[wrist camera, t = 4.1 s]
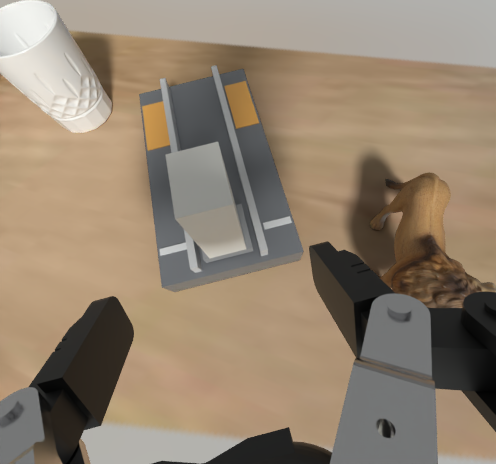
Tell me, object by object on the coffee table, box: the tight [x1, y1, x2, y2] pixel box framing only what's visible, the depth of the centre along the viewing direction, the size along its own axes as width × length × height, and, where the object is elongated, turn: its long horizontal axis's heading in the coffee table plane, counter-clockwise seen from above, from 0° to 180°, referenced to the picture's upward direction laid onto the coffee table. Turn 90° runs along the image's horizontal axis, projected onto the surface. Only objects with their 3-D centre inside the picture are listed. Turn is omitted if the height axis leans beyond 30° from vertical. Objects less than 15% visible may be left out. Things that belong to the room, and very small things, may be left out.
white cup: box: [0, 0, 112, 133], centre depth 28 cm, size 8×8×10 cm
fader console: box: [139, 65, 304, 292], centre depth 26 cm, size 12×22×4 cm, turn 14°
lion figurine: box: [370, 173, 496, 308], centre depth 20 cm, size 15×5×9 cm, turn 178°
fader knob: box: [166, 142, 253, 263], centre depth 18 cm, size 4×4×9 cm
